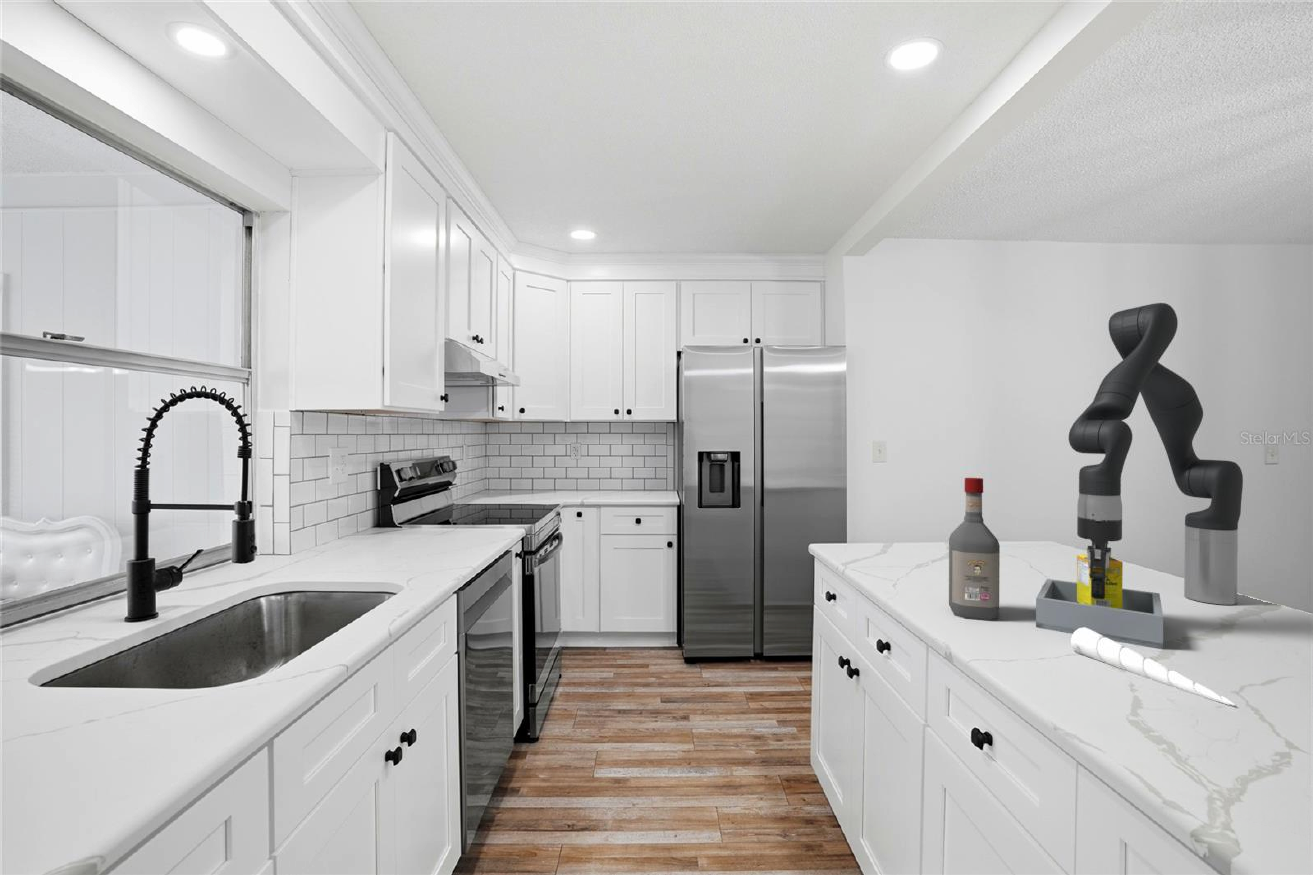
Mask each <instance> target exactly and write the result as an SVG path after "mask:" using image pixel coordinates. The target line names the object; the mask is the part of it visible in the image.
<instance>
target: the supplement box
mask: <svg viewBox="0 0 1313 875" xmlns="http://www.w3.org/2000/svg"><path fill="white" fill-rule="evenodd" d="M1097 561H1099V560H1097ZM1089 562H1090V560H1089ZM1123 563H1124V562H1123V561H1121V560H1118V559H1117V558H1114V557H1111V558H1110V559H1109V570H1108V571H1106V580H1105V598H1104V599H1097V598H1093V597H1092V596H1091V578H1090V576H1089V574H1090V568H1088V556H1087V554H1077V555H1076V579H1077V580H1076V583H1077V603H1082V604H1089V605H1096V606H1103V607H1110V608H1117V609H1122V589H1123V567H1124V566H1123V565H1124V564H1123ZM1105 564H1106V560H1105ZM1094 572H1096V573H1102V571H1101V570H1097V569H1094Z"/></svg>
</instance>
